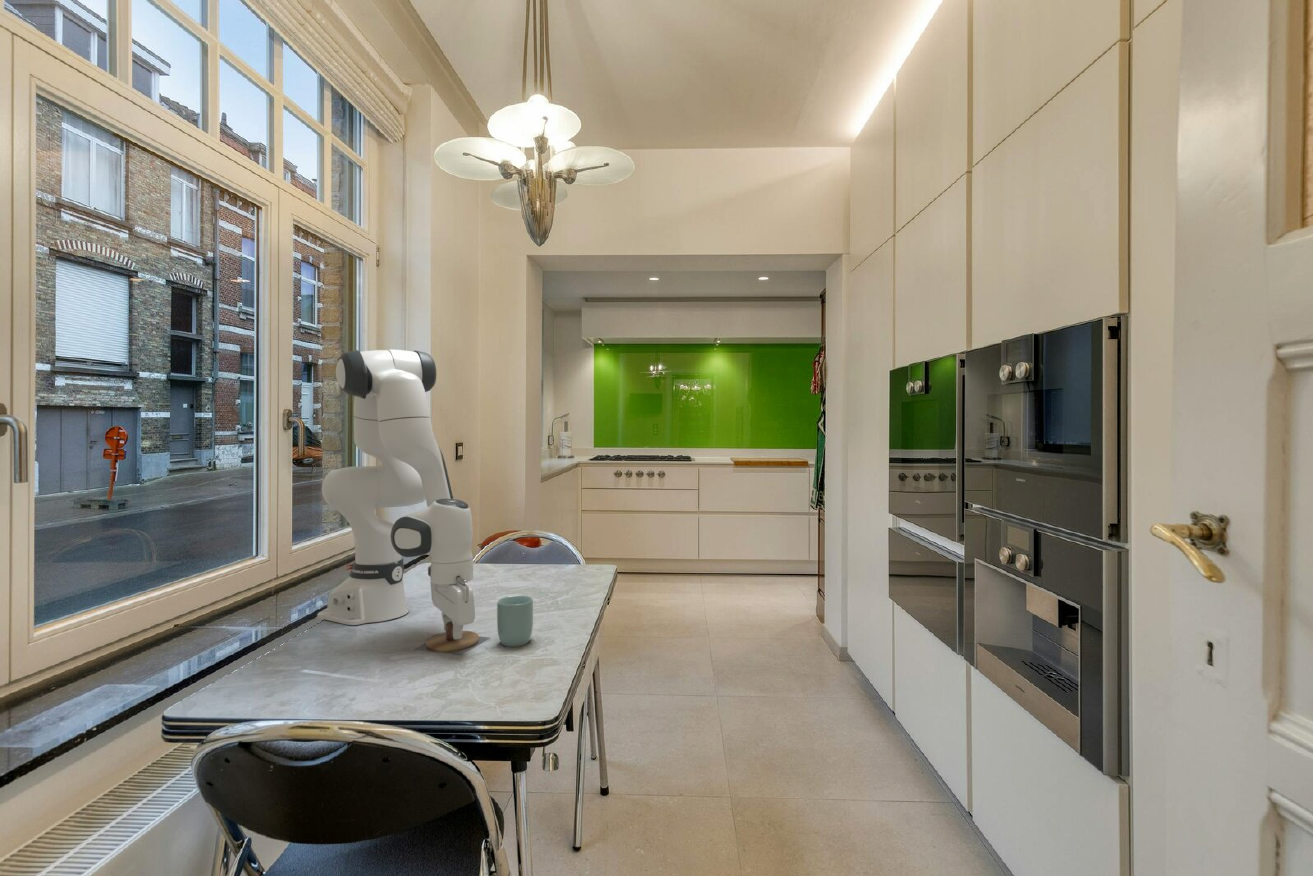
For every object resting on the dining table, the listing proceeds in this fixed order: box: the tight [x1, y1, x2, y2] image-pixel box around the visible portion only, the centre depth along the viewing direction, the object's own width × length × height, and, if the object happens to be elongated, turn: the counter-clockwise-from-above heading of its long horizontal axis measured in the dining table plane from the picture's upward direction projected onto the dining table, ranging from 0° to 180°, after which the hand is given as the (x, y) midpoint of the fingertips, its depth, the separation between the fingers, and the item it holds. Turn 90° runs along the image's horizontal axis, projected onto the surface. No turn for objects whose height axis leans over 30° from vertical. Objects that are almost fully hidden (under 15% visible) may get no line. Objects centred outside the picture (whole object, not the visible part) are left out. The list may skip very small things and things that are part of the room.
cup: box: [496, 595, 534, 648], centre depth 131 cm, size 8×8×10 cm
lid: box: [425, 621, 479, 653], centre depth 131 cm, size 11×11×4 cm
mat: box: [413, 635, 491, 656], centre depth 131 cm, size 12×11×1 cm
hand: (452, 634), depth 131 cm, fingers open, 4 cm apart
